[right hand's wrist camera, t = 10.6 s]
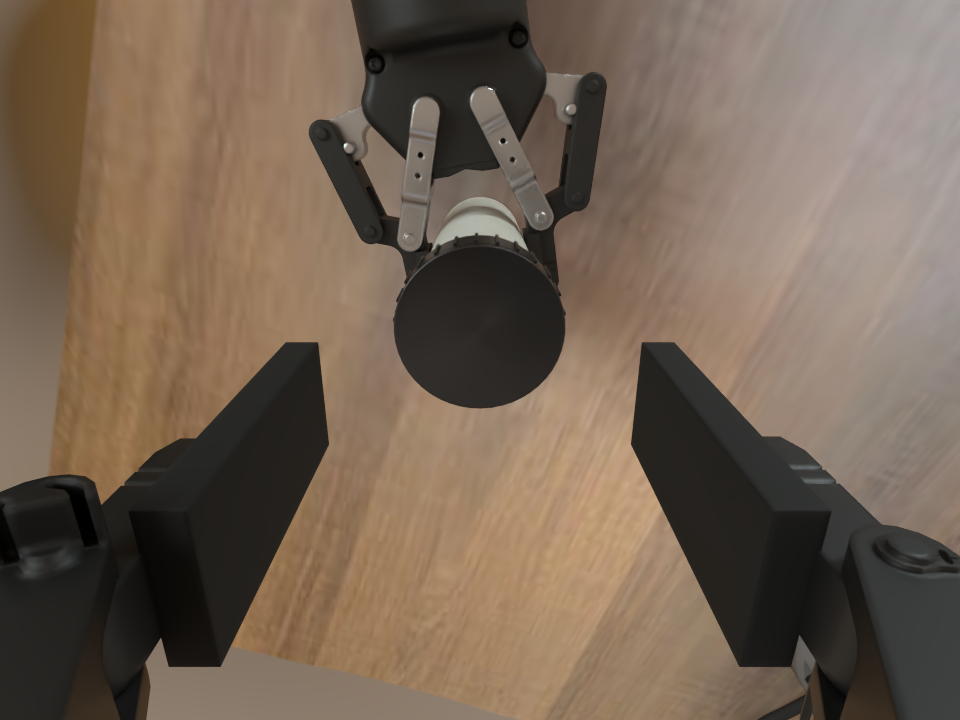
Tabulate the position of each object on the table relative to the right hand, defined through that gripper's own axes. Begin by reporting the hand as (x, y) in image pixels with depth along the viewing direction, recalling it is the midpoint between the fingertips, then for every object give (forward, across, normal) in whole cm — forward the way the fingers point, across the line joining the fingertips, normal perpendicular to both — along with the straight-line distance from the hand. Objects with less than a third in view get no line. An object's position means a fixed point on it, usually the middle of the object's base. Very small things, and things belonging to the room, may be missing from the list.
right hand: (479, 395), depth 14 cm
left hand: (+17, 0, -3) cm, 17 cm away
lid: (+5, 0, 0) cm, 5 cm away
